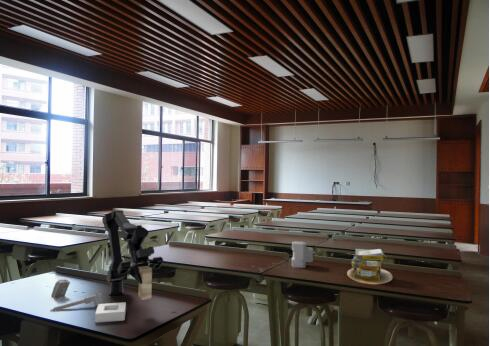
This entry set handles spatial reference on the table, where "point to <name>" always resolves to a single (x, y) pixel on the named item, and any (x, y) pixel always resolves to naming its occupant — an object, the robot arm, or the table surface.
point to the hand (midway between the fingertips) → (146, 282)
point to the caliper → (85, 300)
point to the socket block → (110, 312)
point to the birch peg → (145, 282)
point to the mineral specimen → (60, 288)
